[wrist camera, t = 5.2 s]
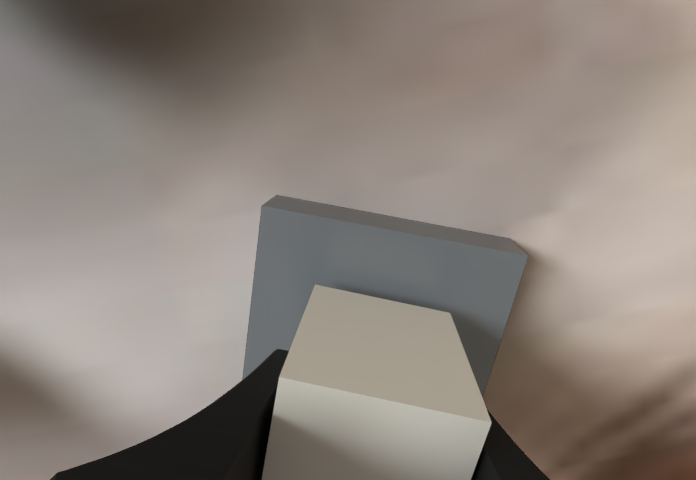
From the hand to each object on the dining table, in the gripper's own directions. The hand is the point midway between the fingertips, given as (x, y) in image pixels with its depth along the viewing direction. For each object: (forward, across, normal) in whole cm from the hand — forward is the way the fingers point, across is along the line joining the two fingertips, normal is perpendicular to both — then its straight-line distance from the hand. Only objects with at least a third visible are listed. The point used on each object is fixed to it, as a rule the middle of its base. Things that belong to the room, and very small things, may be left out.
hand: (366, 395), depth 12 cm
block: (+2, 0, 0) cm, 2 cm away
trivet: (+5, 0, 0) cm, 5 cm away
